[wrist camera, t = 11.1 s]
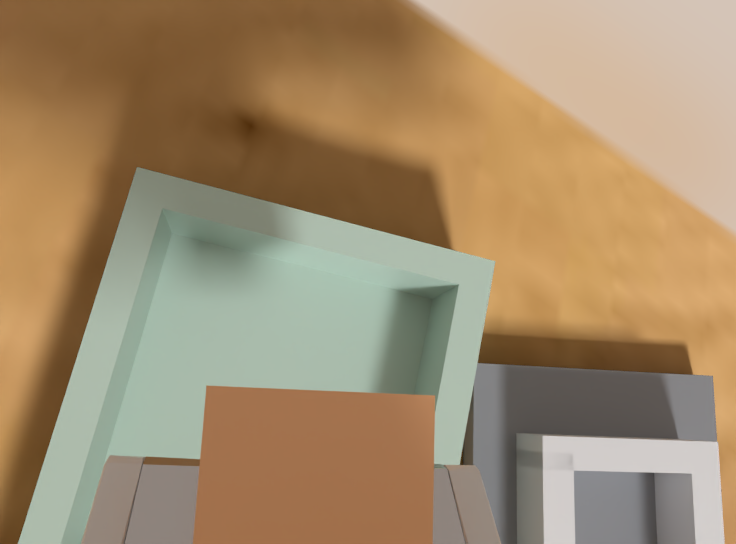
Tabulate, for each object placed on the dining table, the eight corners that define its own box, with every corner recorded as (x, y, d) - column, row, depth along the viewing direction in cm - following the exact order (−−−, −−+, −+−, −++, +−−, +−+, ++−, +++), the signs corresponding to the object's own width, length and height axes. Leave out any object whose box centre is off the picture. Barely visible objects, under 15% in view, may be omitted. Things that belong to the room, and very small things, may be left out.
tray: (3, 688, 19) (-48, 748, 16) (152, 202, 23) (136, 166, 19) (372, 746, 21) (398, 812, 17) (459, 281, 24) (495, 261, 21)
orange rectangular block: (214, 591, 14) (169, 818, 6) (229, 397, 15) (206, 385, 7) (332, 591, 14) (428, 803, 7) (341, 401, 15) (435, 395, 7)
